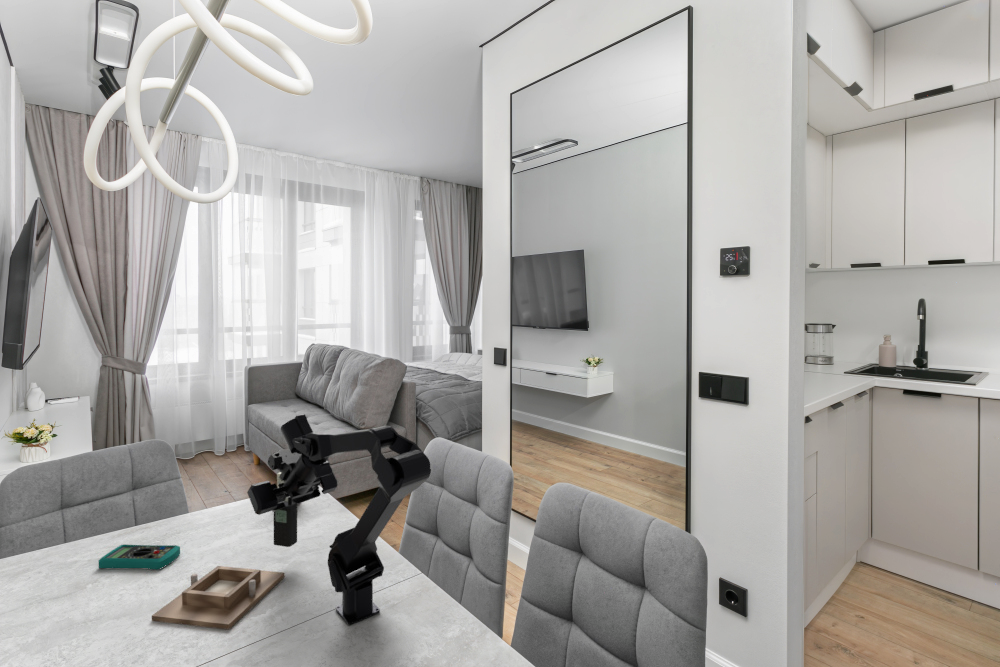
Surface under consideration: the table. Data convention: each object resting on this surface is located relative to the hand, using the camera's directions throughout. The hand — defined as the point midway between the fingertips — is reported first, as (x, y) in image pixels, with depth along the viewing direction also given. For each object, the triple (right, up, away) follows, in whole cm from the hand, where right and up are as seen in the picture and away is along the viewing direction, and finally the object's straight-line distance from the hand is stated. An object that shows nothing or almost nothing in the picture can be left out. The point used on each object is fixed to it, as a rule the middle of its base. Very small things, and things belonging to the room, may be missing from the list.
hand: (282, 507), depth 115 cm
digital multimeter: (-33, -14, +1) cm, 36 cm away
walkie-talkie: (+1, -8, 0) cm, 8 cm away
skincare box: (-13, -11, +34) cm, 38 cm away
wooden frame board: (-6, -14, -13) cm, 20 cm away
